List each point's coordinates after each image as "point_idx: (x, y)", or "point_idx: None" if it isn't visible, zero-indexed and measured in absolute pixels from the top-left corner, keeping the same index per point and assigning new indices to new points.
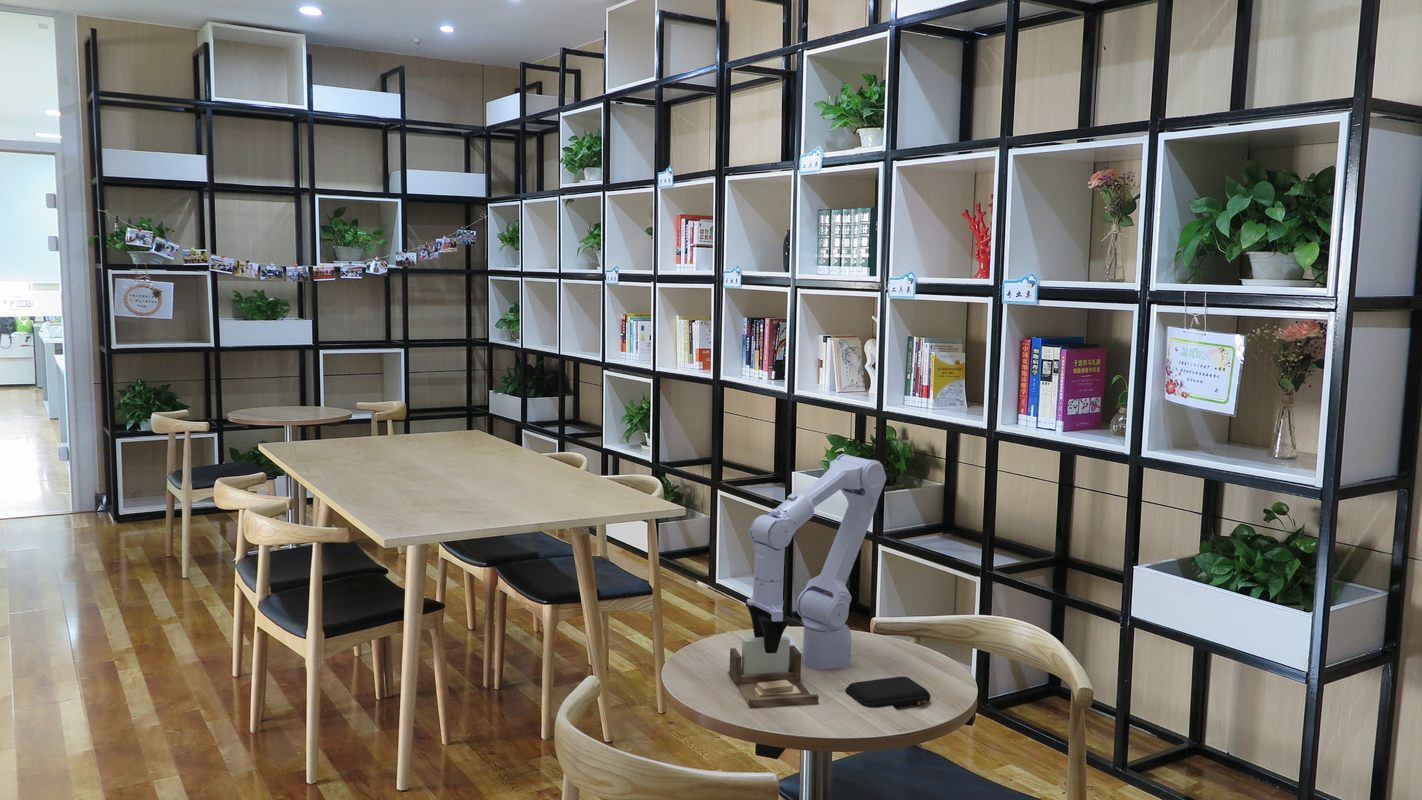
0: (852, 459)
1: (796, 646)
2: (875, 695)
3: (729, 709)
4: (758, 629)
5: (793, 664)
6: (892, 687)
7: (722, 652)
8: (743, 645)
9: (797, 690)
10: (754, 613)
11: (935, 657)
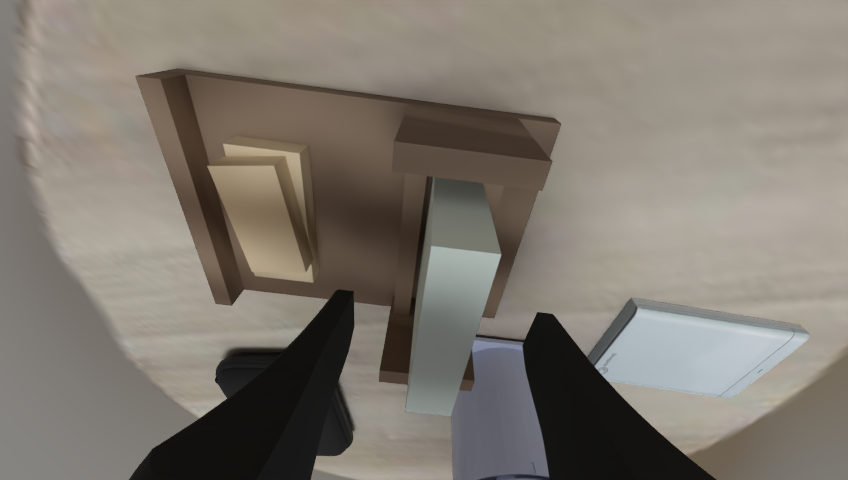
0: None
1: (630, 380)
2: (229, 394)
3: None
4: (551, 367)
5: None
6: None
7: (785, 195)
8: (465, 228)
9: (272, 273)
10: (607, 468)
11: None
